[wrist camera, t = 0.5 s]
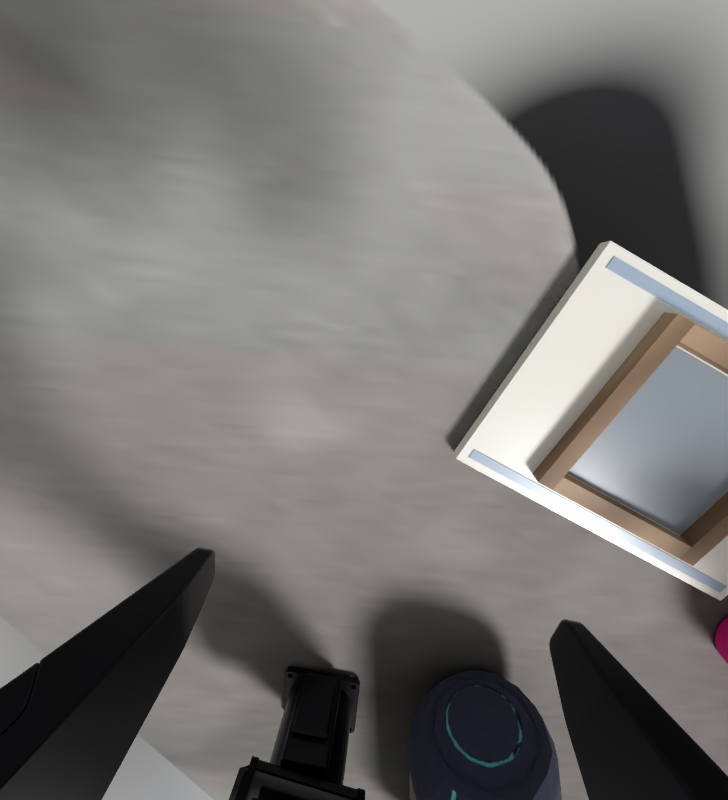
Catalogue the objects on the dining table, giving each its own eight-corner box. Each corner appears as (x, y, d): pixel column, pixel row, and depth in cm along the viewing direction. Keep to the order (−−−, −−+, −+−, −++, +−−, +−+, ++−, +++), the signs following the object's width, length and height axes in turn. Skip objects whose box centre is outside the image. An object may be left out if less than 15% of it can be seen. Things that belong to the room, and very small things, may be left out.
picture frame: (905, 423, 20) (932, 430, 18) (708, 588, 24) (721, 601, 23) (600, 243, 18) (611, 240, 17) (453, 451, 23) (456, 459, 22)
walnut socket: (836, 412, 19) (859, 419, 18) (680, 554, 22) (692, 566, 21) (664, 312, 18) (678, 313, 17) (532, 473, 22) (538, 482, 21)
